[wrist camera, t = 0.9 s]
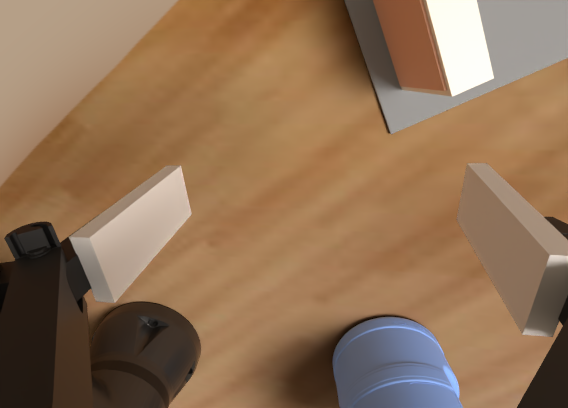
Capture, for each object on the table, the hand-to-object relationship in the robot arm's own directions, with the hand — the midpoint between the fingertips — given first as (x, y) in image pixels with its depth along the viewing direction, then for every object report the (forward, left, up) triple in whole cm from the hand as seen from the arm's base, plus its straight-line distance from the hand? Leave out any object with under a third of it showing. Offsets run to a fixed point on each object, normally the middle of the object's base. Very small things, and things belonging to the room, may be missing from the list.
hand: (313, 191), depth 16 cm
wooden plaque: (+13, +4, -23) cm, 26 cm away
